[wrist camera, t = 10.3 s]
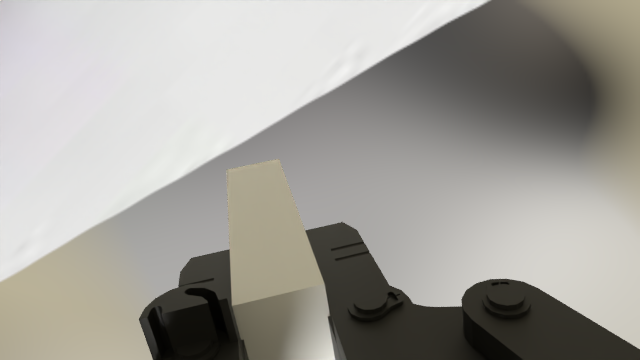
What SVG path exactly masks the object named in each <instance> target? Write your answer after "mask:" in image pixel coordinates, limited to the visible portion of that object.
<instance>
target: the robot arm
mask: <svg viewBox="0 0 640 360" xmlns="http://www.w3.org/2000/svg"><path fill="white" fill-rule="evenodd" d="M227 196H228V220H229V244H230V249H229V250H225V251H220V252H216V253H212V254H207V255H203V256H199V257H194V258H191V259H190V261H189V262H188V263H187V264H186V266H185V267H184V268H183V269H182V271H181V272H180V279H179V287H178V288H175V289H172V290H170V291H168V292H166V293H164V294H163V295H161V296H159V297H158V298H156V299H155V300H153V301H152V302H151V303H150V304H149V305H148V306H147V307H146V308H145V309H144V311H143V313H142V314H141V316H140V318H139V321H140V324H141V327H142V329H143V332H144V335H145V338H146V341H147V344H148V346H149V349H150V352H151V354H152V358H153V360H640V349H638V348H636V347H635V346H633V345H631V344H630V343H628V342H627V341H625V340H623V339H621V338H620V337H618V336H617V335H615V334H613V333H612V332H610V331H608V330H607V329H605V328H603V327H602V326H600V325H598V324H597V323H595V322H593V321H592V320H590V319H588V318H586V317H585V316H583V315H582V314H580V313H578V312H577V311H575V310H573V309H572V308H570V307H568V306H567V305H565V304H563V303H562V302H560V301H558V300H557V299H555V298H553V297H552V296H550V295H548V294H547V293H545V292H543V291H542V290H540V289H538V288H536V287H534V286H531V285H529V284H527V283H525V282H521V281H516V280H510V279H490V280H487V281H483V282H480V283H476V284H475V285H473V286H472V287H470V288H469V289H467V290H466V292H465V294H464V296H463V298H462V307H425V306H421V305H416V304H413V303H412V302H411V300H410V299H409V297H408V296H407V295H406V294H405V293H403V292H402V291H401V290H399V289H397V288H394V287H392V286H389V284H388V282H387V281H386V279H385V277H384V276H383V274H382V272H381V270H380V269H379V267H378V265H377V264H376V262H375V261H374V258H373V257H372V255H371V254H370V253H369V250H368V248H367V247H366V245H365V244H364V242H363V240H362V238H361V236H360V235H359V233H358V231H357V230H356V229H354V228H352V227H350V226H349V225H347V224H345V223H342V222H341V223H337V224H333V225H328V226H324V227H319V228H315V229H310V230H306V231H305V229H304V226H303V223H302V221H301V218H300V215H299V212H298V210H297V207H296V204H295V202H294V199H293V196H292V193H291V191H290V188H289V185H288V183H287V180H286V177H285V174H284V172H283V169H282V166H281V163H280V160H279V159H275V160H271V161H266V162H261V163H256V164H251V165H247V166H242V167H237V168H232V169H227Z"/></svg>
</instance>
